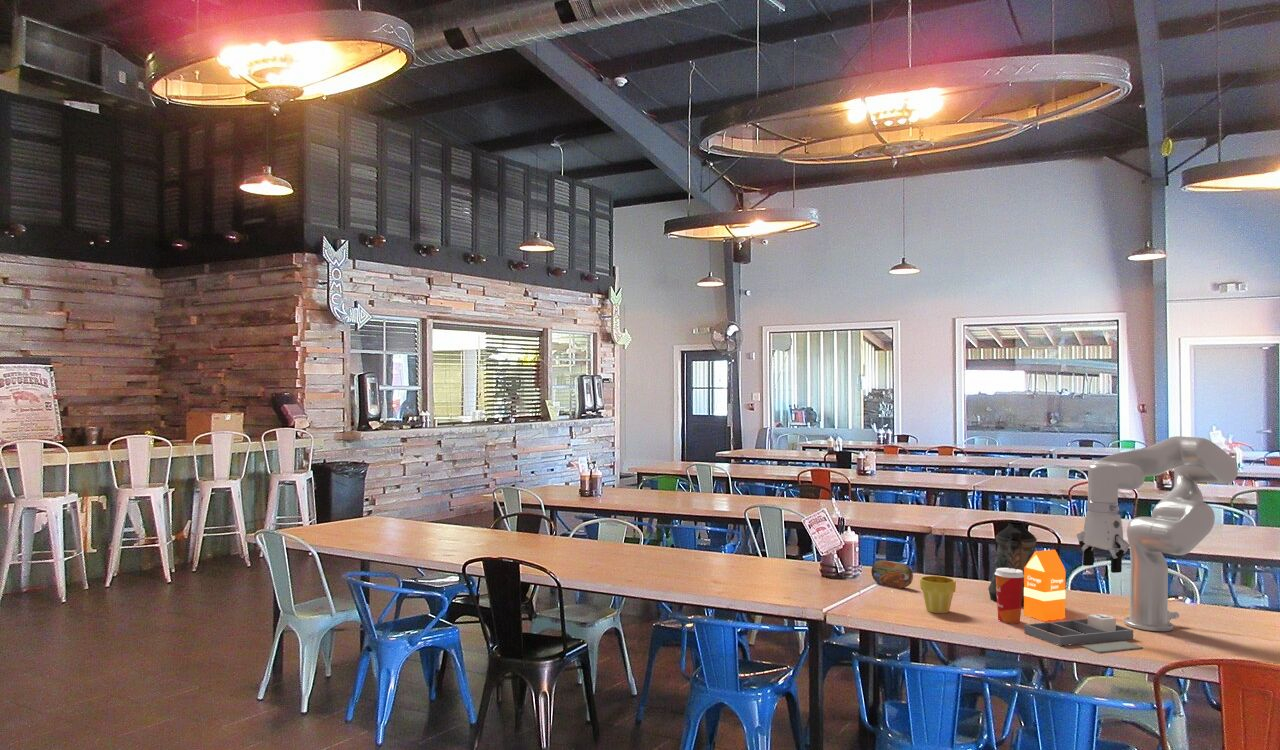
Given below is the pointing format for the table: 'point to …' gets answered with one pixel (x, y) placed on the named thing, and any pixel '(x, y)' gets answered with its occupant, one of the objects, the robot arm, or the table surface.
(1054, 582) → the orange juice
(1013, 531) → the dark ornate vase
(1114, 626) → the letter cube
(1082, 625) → the sorting box
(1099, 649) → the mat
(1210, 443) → the robot arm
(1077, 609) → the table surface
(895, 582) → the tin
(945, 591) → the plant pot
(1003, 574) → the coffee cup
